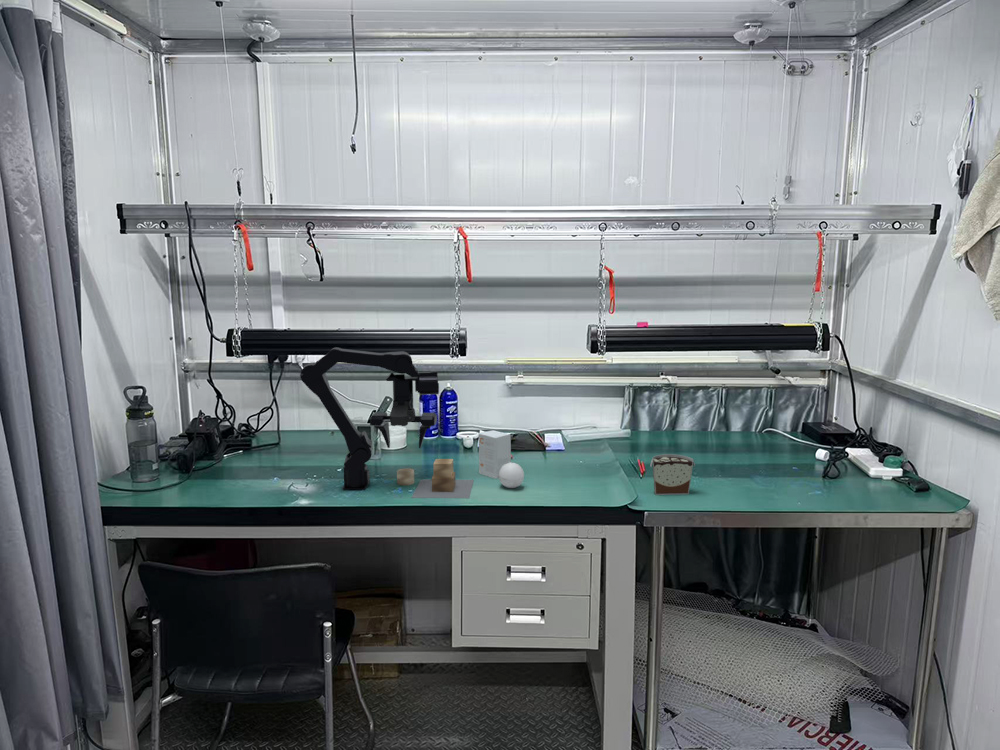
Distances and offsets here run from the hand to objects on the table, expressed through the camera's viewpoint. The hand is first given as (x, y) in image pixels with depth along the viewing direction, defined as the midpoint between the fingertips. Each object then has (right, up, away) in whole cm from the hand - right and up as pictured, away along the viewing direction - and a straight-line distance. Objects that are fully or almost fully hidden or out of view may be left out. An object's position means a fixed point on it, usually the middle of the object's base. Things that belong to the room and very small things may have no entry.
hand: (404, 447), depth 185 cm
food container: (+76, -12, -6) cm, 77 cm away
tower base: (+12, -11, -4) cm, 17 cm away
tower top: (+12, -7, -4) cm, 15 cm away
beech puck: (0, -11, +2) cm, 11 cm away
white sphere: (+30, -11, -2) cm, 32 cm away
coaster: (+12, -12, -4) cm, 17 cm away
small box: (+26, -10, +10) cm, 30 cm away
